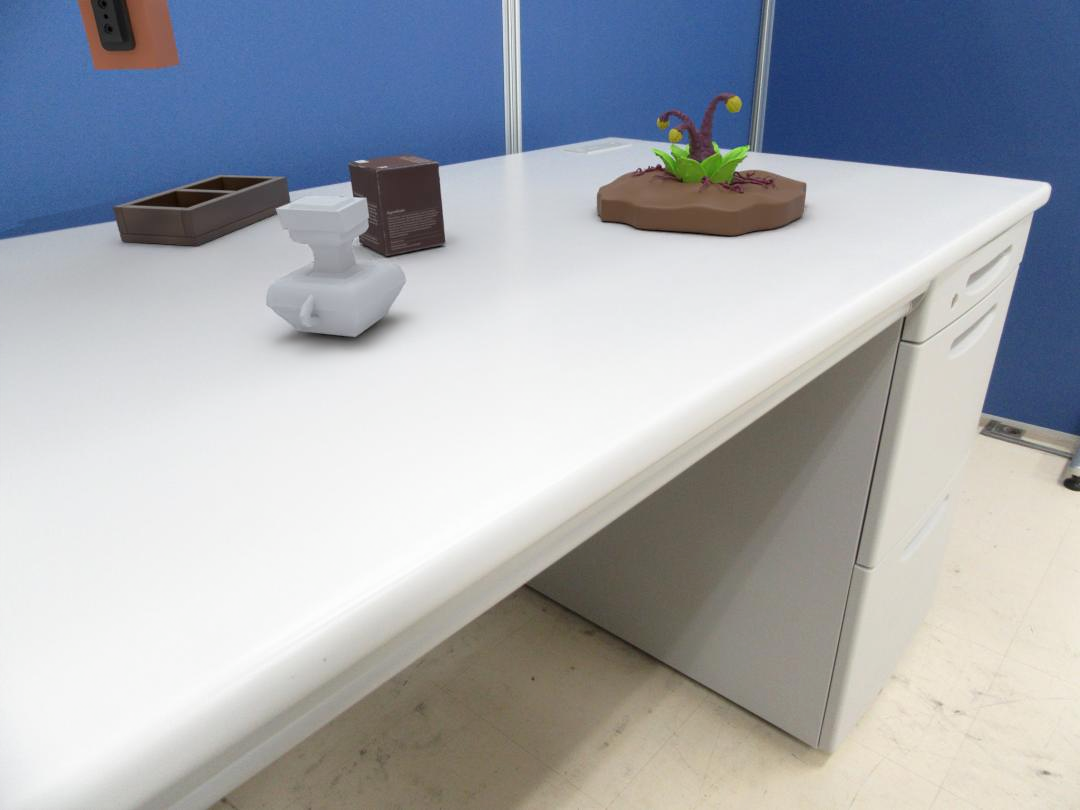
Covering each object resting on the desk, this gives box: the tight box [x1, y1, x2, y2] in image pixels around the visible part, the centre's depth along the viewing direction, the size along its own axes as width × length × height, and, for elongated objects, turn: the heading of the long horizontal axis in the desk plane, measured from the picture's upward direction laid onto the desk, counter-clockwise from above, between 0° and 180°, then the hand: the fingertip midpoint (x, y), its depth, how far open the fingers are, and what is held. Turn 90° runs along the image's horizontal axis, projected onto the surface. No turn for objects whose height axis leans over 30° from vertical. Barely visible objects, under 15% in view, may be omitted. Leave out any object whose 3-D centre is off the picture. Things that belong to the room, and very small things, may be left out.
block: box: [77, 0, 181, 71], centre depth 59 cm, size 5×5×6 cm
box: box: [347, 153, 446, 257], centre depth 70 cm, size 6×6×7 cm
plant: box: [596, 92, 808, 237], centre depth 78 cm, size 20×20×11 cm
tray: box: [112, 174, 291, 247], centre depth 80 cm, size 8×16×3 cm, turn 164°
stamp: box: [265, 195, 407, 338], centre depth 51 cm, size 9×7×8 cm
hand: (134, 47), depth 60 cm, fingers closed on block, 4 cm apart
